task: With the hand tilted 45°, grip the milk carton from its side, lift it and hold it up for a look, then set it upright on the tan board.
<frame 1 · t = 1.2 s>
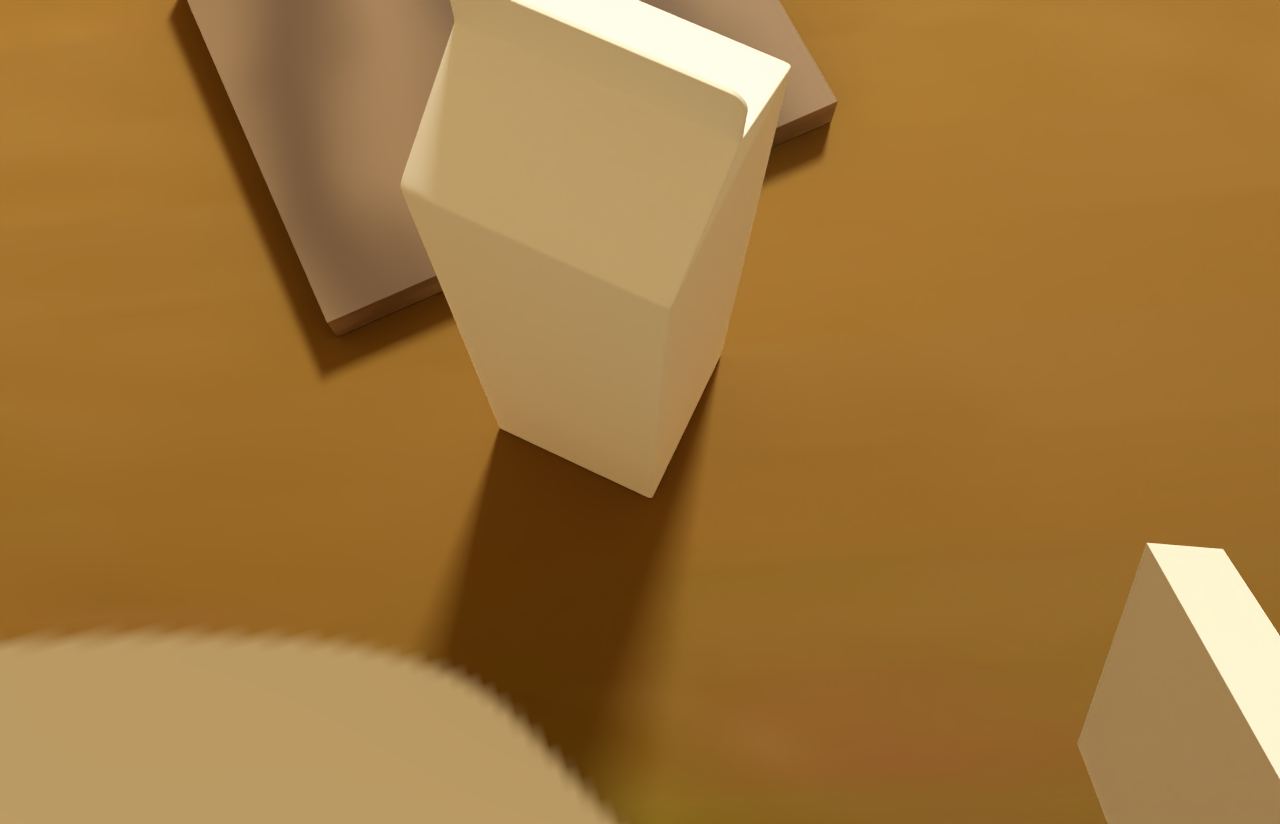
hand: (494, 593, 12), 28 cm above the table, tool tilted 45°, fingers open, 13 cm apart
milk: (611, 391, 42), on the table
tan board: (502, 52, 45), on the table
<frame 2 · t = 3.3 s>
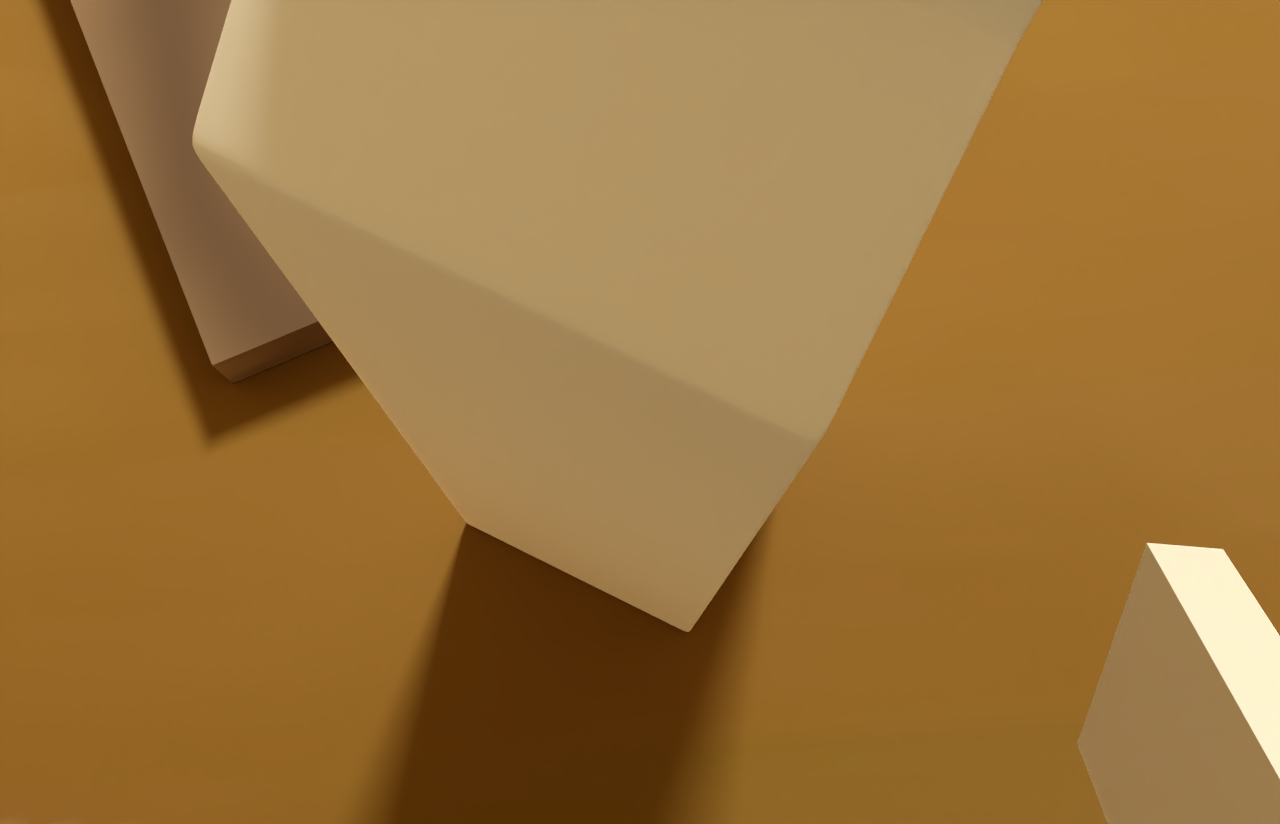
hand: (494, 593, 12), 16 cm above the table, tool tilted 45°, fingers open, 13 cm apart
milk: (630, 469, 29), on the table
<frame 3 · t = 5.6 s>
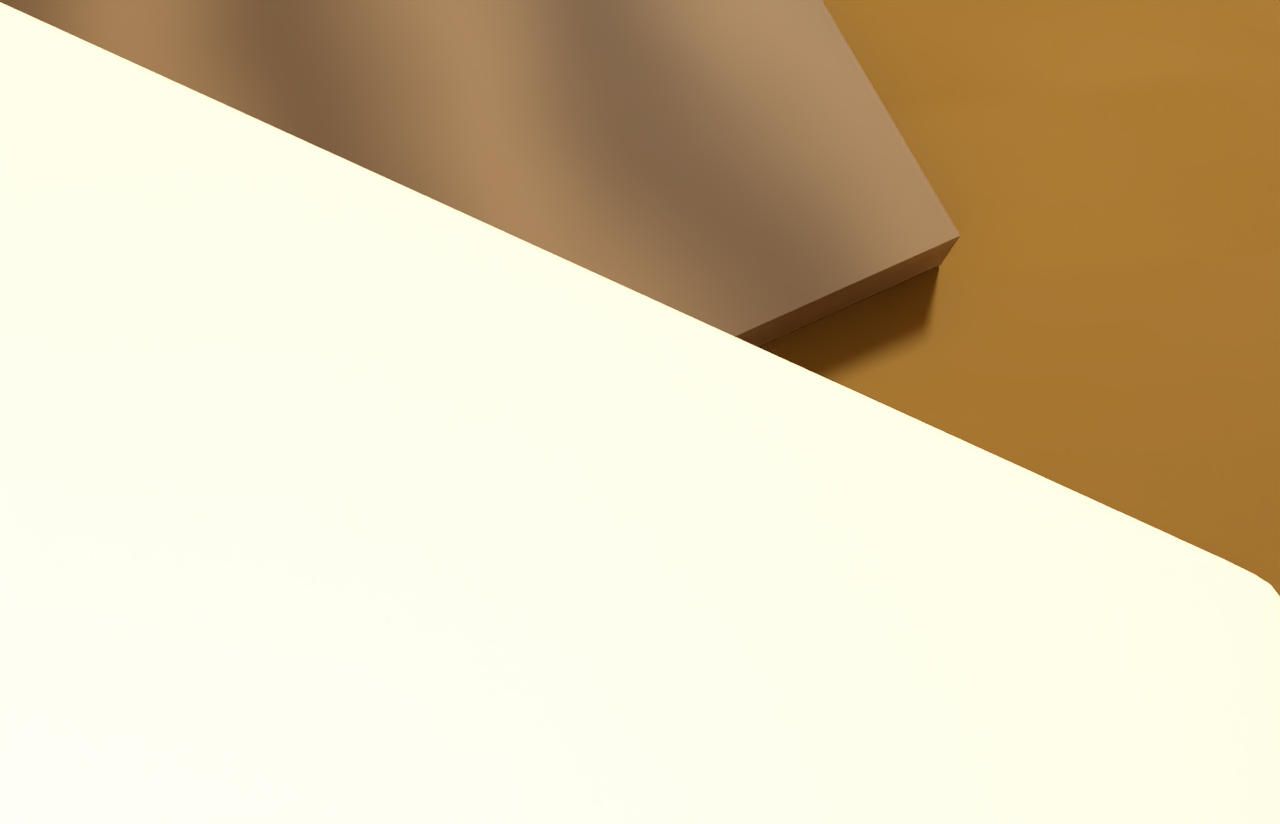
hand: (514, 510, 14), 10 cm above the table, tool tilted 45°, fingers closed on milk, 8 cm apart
milk: (536, 788, 22), on the table, touching gripper
tan board: (356, 133, 26), on the table
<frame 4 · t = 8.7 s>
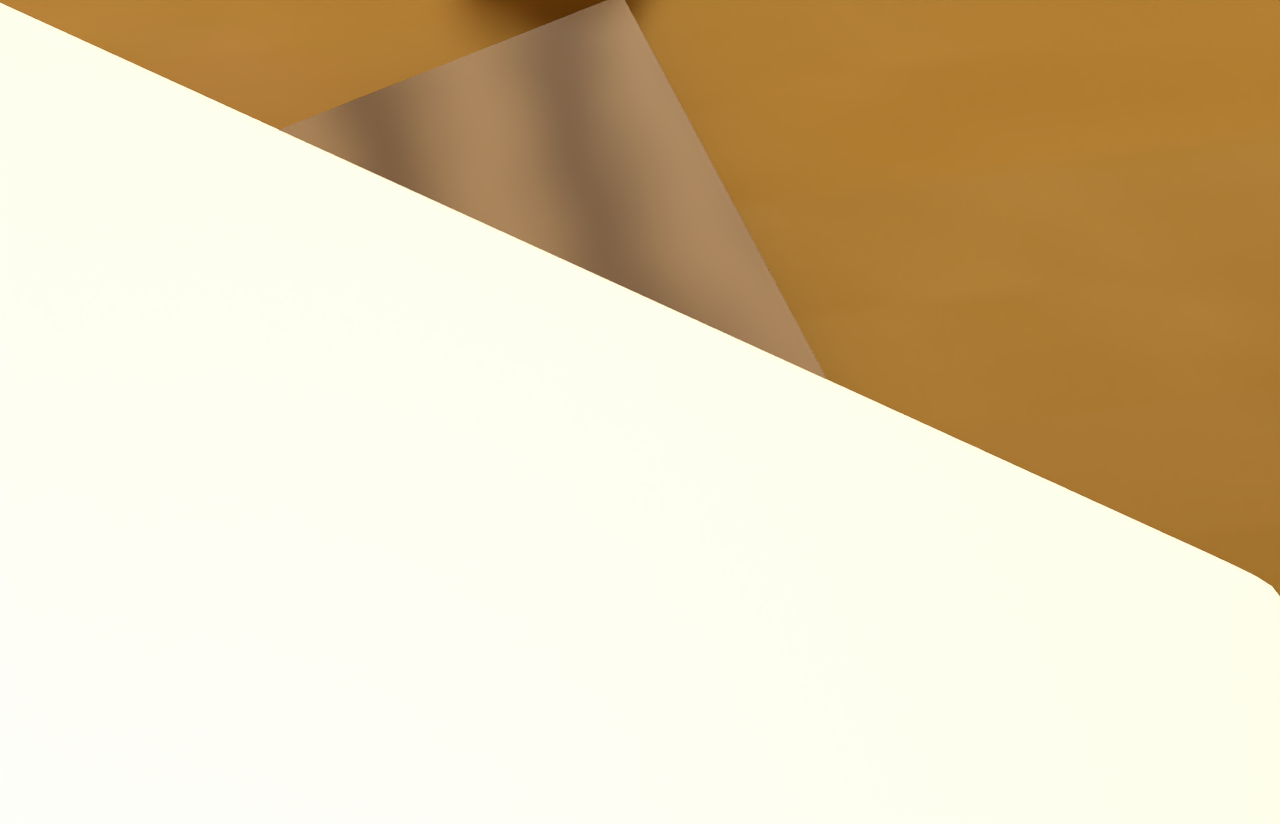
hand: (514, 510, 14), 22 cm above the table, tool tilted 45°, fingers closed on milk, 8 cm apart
milk: (536, 788, 22), point 13 cm above the table, touching gripper
tan board: (443, 332, 38), on the table
when the fingers open (12 cm above the table, at t = 12.1 s): milk drops 1 cm, resting on tan board.
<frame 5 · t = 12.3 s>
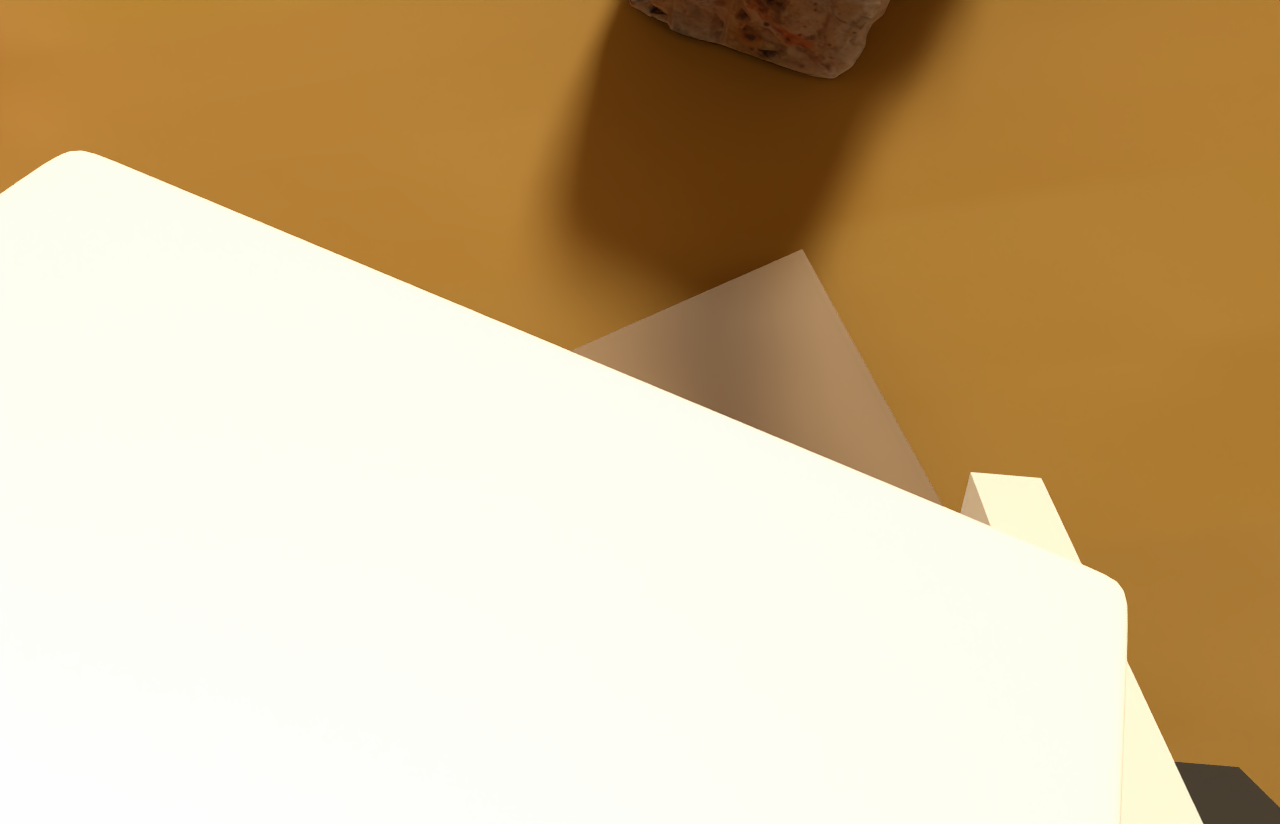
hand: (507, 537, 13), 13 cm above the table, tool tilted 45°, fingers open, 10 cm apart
milk: (536, 789, 24), point 1 cm above the table, touching tan board
tan board: (545, 783, 25), on the table
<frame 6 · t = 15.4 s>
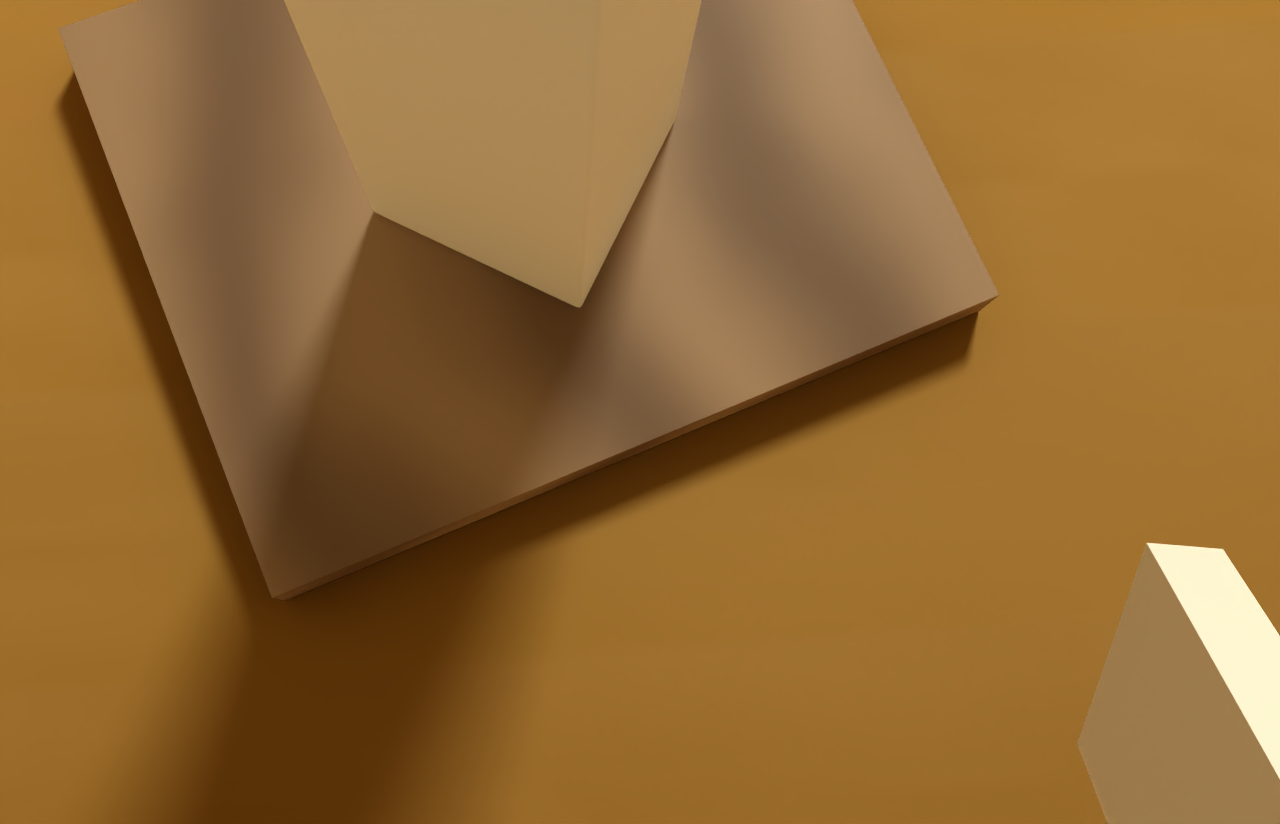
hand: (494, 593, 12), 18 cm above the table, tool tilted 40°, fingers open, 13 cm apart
milk: (527, 167, 31), point 1 cm above the table, touching tan board
tan board: (532, 184, 33), on the table
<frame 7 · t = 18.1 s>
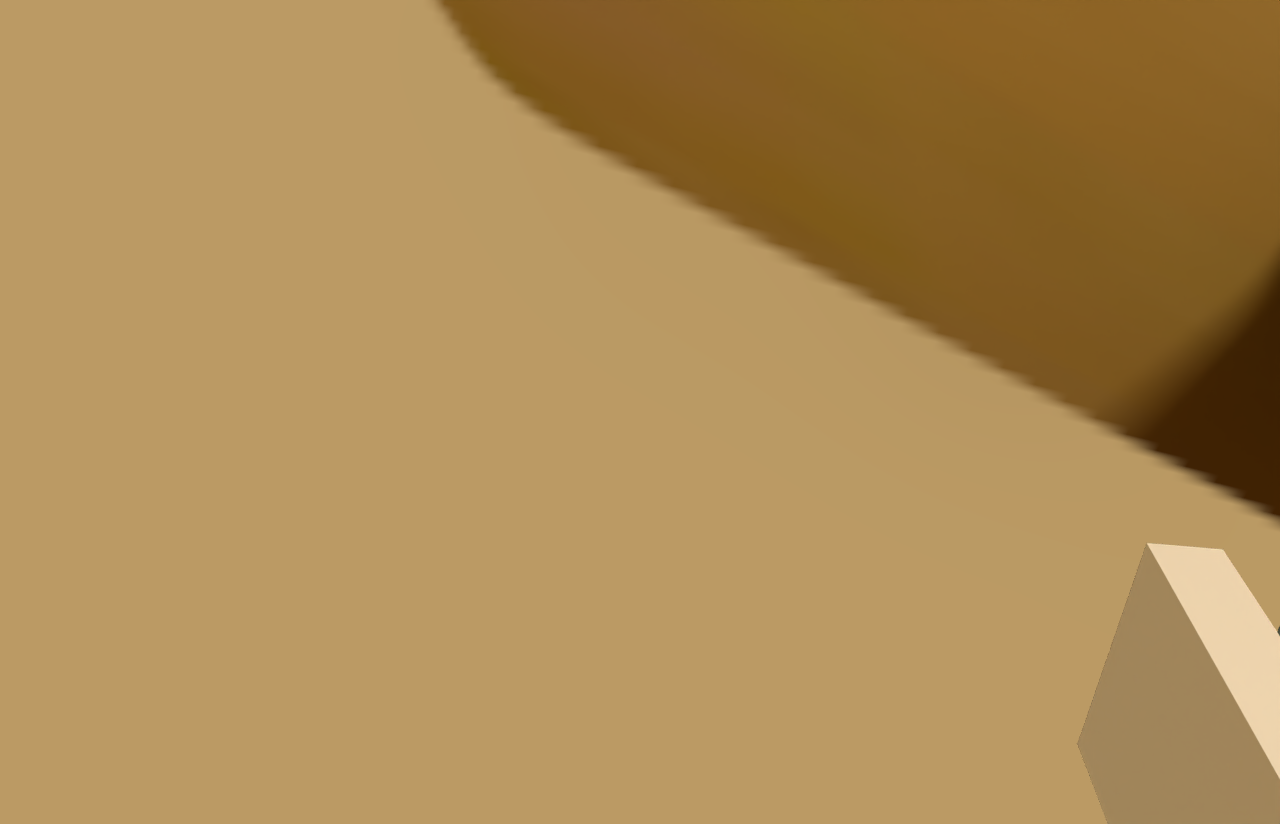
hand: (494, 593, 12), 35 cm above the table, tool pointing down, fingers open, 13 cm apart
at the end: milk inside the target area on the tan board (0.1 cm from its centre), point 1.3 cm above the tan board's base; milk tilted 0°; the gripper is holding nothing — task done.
